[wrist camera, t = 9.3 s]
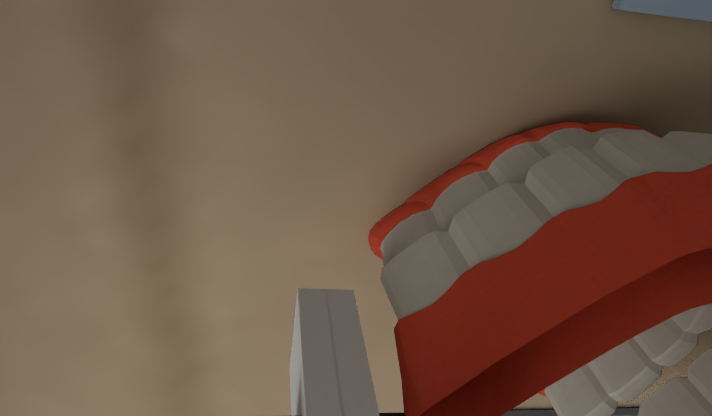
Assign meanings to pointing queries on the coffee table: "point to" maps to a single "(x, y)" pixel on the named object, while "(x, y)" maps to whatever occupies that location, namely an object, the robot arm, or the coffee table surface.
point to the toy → (556, 274)
